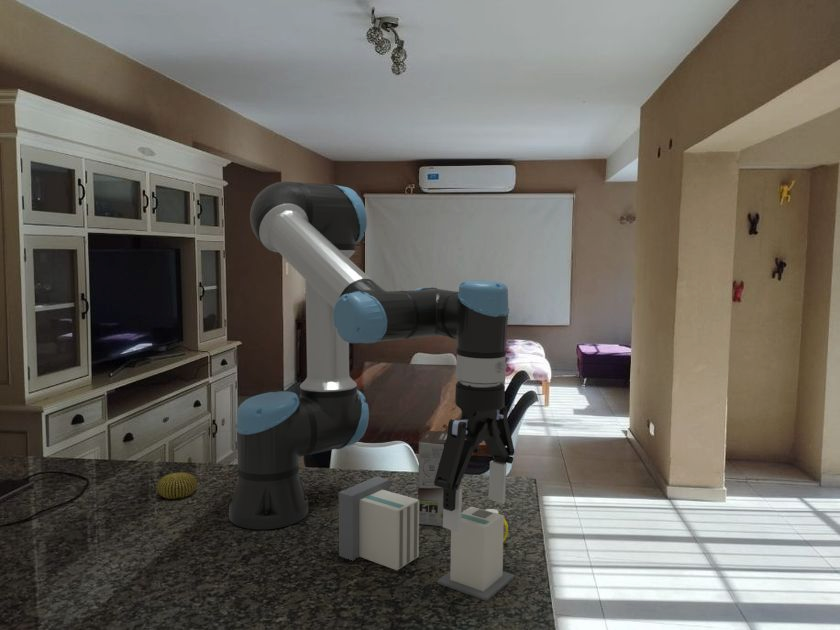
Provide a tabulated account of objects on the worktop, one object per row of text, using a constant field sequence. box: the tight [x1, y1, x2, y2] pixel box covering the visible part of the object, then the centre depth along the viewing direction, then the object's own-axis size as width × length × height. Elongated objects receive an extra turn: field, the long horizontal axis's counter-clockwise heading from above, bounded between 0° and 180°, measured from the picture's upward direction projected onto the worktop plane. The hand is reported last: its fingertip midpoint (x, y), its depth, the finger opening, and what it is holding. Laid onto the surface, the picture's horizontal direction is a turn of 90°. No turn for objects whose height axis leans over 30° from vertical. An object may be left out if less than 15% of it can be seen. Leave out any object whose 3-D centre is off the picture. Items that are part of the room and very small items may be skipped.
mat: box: [436, 570, 516, 602], centre depth 105 cm, size 9×9×1 cm
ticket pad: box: [337, 475, 420, 571], centre depth 113 cm, size 12×10×11 cm
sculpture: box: [156, 471, 198, 500], centre depth 140 cm, size 8×4×8 cm
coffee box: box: [417, 430, 448, 527], centre depth 129 cm, size 9×6×16 cm
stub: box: [449, 506, 505, 591], centre depth 104 cm, size 6×6×10 cm
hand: (475, 514), depth 104 cm, fingers open, 13 cm apart
